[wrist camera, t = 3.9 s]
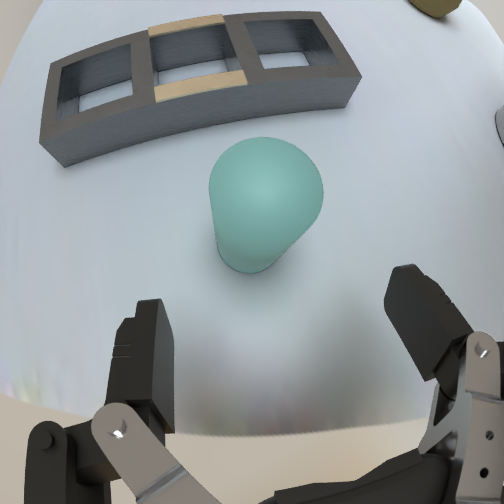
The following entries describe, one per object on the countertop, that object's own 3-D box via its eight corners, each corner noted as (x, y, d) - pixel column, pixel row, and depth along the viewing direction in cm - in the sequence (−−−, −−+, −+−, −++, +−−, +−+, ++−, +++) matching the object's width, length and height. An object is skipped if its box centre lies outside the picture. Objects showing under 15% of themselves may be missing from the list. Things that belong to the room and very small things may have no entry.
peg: (239, 199, 20) (249, 120, 11) (292, 232, 20) (341, 175, 11) (204, 250, 19) (185, 202, 10) (259, 285, 19) (287, 267, 10)
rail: (310, 42, 23) (321, 10, 19) (344, 107, 22) (363, 75, 18) (68, 91, 20) (49, 62, 16) (64, 167, 19) (37, 141, 15)
